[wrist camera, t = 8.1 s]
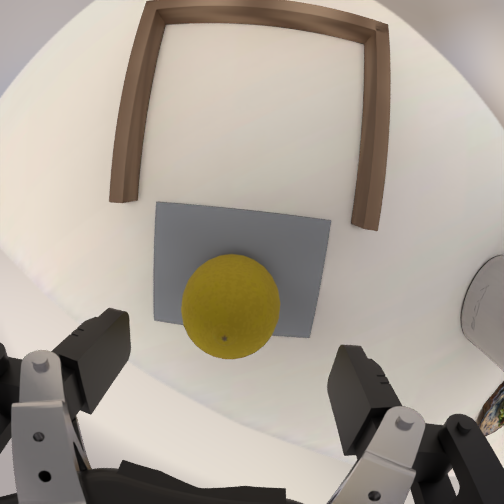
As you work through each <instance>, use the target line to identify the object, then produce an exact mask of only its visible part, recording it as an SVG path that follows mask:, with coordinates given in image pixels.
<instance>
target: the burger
mask: <svg viewBox="0 0 504 504" xmlns="http://www.w3.org/2000/svg"><path fill="white" fill-rule="evenodd" d="M483 411H484V417H483V419H482V421H481V423H480V425H479V428H480V429H481V431H482V433H483V434H484V436H487V435H489V434H491V433H493V432H495V431H497V430H498V429H499V428H501V427H502V426H503V425H504V381H503V382H502V384H500V385H499V387H498V388H497V389H496V390H495V393H494V394H493V395H491V397H490V398H489V399H488V401H486V403H485V404H484V405H483Z"/></svg>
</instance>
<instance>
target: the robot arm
mask: <svg viewBox="0 0 504 504" xmlns="http://www.w3.org/2000/svg"><path fill="white" fill-rule="evenodd" d="M461 320H462V329H463V333H464V335H465V336H466V338H467V339H468V340H470V341H471V342H472V343H473V344H474V345H475V346H476V347H478V348H479V349H480V350H481V351H482V352H483V353H484V354H485V355H487V356H488V357H489V358H490V359H491V360H492V361H493V362H494V363H495V364H496V365H497V366H498V367H499V368H501V369H502V370H503V371H504V256H503V255H502V256H496V257H495V258H493V259H491V260H490V261H488V262H487V263H486V264H485V265H484V266H483V267H482V268H481V269H480V271H479V272H478V273H477V275H476V277H475V278H474V280H473V282H472V284H471V286H470V288H469V290H468V292H467V295H466V298H465V301H464V305H463V309H462V318H461ZM130 351H131V342H130V326H129V315H128V313H127V312H125V311H121V310H117V309H112V308H108V309H107V310H106V311H104V312H103V313H102V314H101V315H100V316H99V317H94V318H92V319H89V320H87V321H85V322H83V323H82V324H81V325H80V326H79V327H78V328H77V329H76V330H74V331H73V332H72V334H71V335H69V336H68V337H67V338H66V339H65V340H63V341H62V342H61V343H60V344H59V345H58V346H57V347H56V348H55V349H53V351H51V352H50V351H46V350H38V351H34V352H31V353H29V354H28V355H26V356H25V357H24V358H23V360H22V359H16V358H11V357H8V356H7V353H6V350H5V347H4V345H3V344H2V343H0V453H1V452H2V450H3V449H4V447H5V446H6V444H7V443H8V441H9V440H10V439H11V437H12V454H13V465H14V475H15V482H16V489H17V493H14V494H10V495H6V496H2V497H0V504H303V503H300V502H297V501H294V500H291V499H286V489H285V488H265V487H251V486H240V487H226V488H198V487H195V486H192V485H190V484H188V483H185V482H183V481H181V480H178V479H176V478H174V477H172V476H170V475H168V474H165V473H163V472H161V471H158V470H155V469H151V468H147V467H144V466H141V465H137V464H134V463H131V462H128V461H125V460H122V462H121V464H120V467H119V469H115V468H97V469H92V468H91V466H90V463H89V461H88V458H87V455H86V451H85V447H84V443H83V440H82V436H81V432H80V428H79V423H78V419H77V417H76V415H77V413H78V412H79V411H80V410H81V411H83V412H86V413H88V414H92V413H93V411H94V410H95V408H96V407H97V405H98V404H99V402H100V400H101V399H102V398H103V396H104V395H105V393H106V392H107V390H108V389H109V387H110V386H111V384H112V383H113V381H114V380H115V378H116V377H117V376H118V374H119V373H120V371H121V370H122V368H123V367H124V365H125V364H126V362H127V361H128V359H129V356H130ZM327 390H328V395H329V399H330V402H331V406H332V410H333V414H334V417H335V421H336V425H337V429H338V433H339V437H340V441H341V445H342V449H343V453H344V456H348V455H356V456H357V461H356V463H355V464H354V466H353V467H352V469H351V470H350V472H349V473H348V475H347V476H346V478H345V479H344V481H343V482H342V483H341V485H340V486H339V488H338V489H337V490H336V492H335V493H334V495H333V496H332V497H331V499H330V500H329V501H328V503H327V504H404V502H405V500H406V497H407V495H408V492H409V490H410V489H411V492H412V495H413V499H414V502H415V504H504V468H503V467H502V465H501V463H500V461H499V459H498V458H497V456H496V454H495V453H494V451H493V449H492V447H491V446H490V444H489V442H488V441H487V439H486V437H485V436H484V434H483V433H482V431H481V429H480V428H479V426H478V425H477V423H476V422H475V421H474V420H473V419H472V418H470V417H468V416H466V415H463V414H454V415H451V416H450V417H449V418H448V419H447V421H446V422H445V424H444V425H435V424H427V423H425V421H424V419H423V417H422V416H421V415H420V414H419V413H418V412H417V411H415V410H414V409H411V408H408V407H404V406H402V405H401V403H400V401H399V399H398V397H397V395H396V393H395V392H394V390H393V388H392V386H391V384H389V381H388V379H387V377H385V374H384V372H383V370H382V368H381V367H380V366H379V365H378V364H377V363H376V362H375V361H373V360H372V359H368V358H367V356H366V354H365V353H364V351H363V349H362V347H361V346H356V345H341V346H340V347H339V349H338V352H337V355H336V358H335V361H334V364H333V367H332V369H331V372H330V375H329V379H328V385H327ZM452 468H453V470H454V472H455V475H456V477H457V479H458V481H459V485H460V489H459V493H458V495H457V496H456V494H455V491H454V489H453V487H452V484H451V481H450V479H449V477H448V474H447V473H448V472H449V471H450V470H451V469H452Z"/></svg>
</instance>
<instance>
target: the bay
mask: <svg viewBox="0 0 504 504" xmlns="http://www.w3.org/2000/svg"><path fill="white" fill-rule="evenodd" d="M182 23H241V24H256V25H267V26H276V27H284V28H291V29H298V30H304V31H310V32H315V33H320V34H325V35H330V36H334V37H339V38H343V39H347V40H351V41H355V42H358V43H362V44H364V98H363V117H362V132H361V144H360V155H359V165H358V174H357V183H356V191H355V199H354V206H353V213H352V220H351V224H354V225H356V226H358V227H360V228H363V229H368V230H374V231H378V226H379V219H380V213H381V206H382V199H383V191H384V183H385V174H386V164H387V153H388V140H389V123H390V45H389V29H388V24H385V23H382V22H379V21H376V20H373V19H369V18H366V17H363V16H359V15H356V14H352V13H348V12H344V11H340V10H336V9H332V8H327V7H323V6H318V5H312V4H307V3H301V2H294V1H287V0H152V1H146V4H145V7H144V10H143V13H142V16H141V20H140V23H139V26H138V29H137V33H136V36H135V40H134V44H133V47H132V51H131V55H130V59H129V63H128V67H127V72H126V76H125V81H124V86H123V91H122V96H121V102H120V107H119V113H118V119H117V126H116V133H115V141H114V149H113V158H112V169H111V181H110V196H109V202H114V203H125V202H131V201H137V200H138V186H139V174H140V164H141V154H142V145H143V137H144V130H145V123H146V116H147V110H148V104H149V98H150V92H151V87H152V82H153V76H154V72H155V67H156V62H157V58H158V53H159V49H160V45H161V41H162V37H163V33H164V29H165V25H167V24H182Z"/></svg>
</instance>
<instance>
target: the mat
mask: <svg viewBox="0 0 504 504" xmlns="http://www.w3.org/2000/svg"><path fill="white" fill-rule="evenodd" d="M330 225H331V220H325V219H317V218H310V217H302V216H294V215H286V214H278V213H269V212H261V211H252V210H242V209H233V208H223V207H213V206H202V205H191V204H179V203H167V202H156V217H155V237H154V320H155V321H161V322H167V323H174V324H180V325H183V319H182V313H181V306H182V297H183V292H184V290H185V287H186V285H187V282H188V280H189V278H190V277H191V276H192V275H193V273H194V272H195V271H196V270H197V268H198V267H200V266H201V265H202V264H204V263H205V262H207V261H208V260H210V259H212V258H215V257H218V256H220V255H228V254H236V255H243V256H246V257H249V258H251V259H254V260H255V261H257V262H258V263H260V264H261V265H262V266H264V267H265V268H266V270H267V271H268V272H269V273H270V274H271V276H272V277H273V279H274V281H275V284H276V286H277V288H278V292H279V298H280V312H279V319H278V322H277V325H276V327H275V330H274V332H273V334H272V335H274V336H286V337H301V338H310V333H311V329H312V324H313V319H314V315H315V310H316V305H317V300H318V295H319V290H320V284H321V279H322V273H323V268H324V262H325V256H326V250H327V244H328V238H329V232H330Z"/></svg>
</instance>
